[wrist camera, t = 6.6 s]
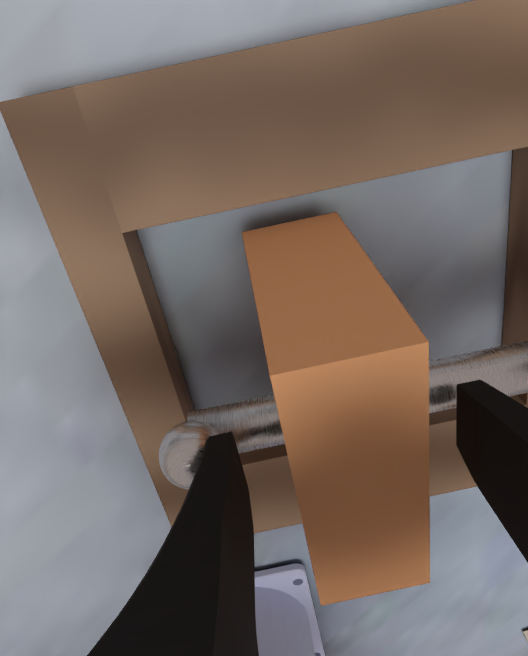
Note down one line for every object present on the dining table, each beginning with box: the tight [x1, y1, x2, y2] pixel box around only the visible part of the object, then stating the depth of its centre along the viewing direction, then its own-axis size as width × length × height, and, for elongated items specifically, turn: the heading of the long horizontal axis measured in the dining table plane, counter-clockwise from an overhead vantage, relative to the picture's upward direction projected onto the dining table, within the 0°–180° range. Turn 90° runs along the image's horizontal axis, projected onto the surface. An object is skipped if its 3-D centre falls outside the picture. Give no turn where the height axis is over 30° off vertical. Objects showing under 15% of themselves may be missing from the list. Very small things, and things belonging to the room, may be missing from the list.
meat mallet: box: [159, 340, 528, 490], centre depth 15 cm, size 4×17×8 cm, turn 101°
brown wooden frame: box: [0, 0, 528, 533], centre depth 18 cm, size 18×22×2 cm
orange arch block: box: [242, 212, 430, 606], centre depth 14 cm, size 8×3×7 cm, turn 11°
